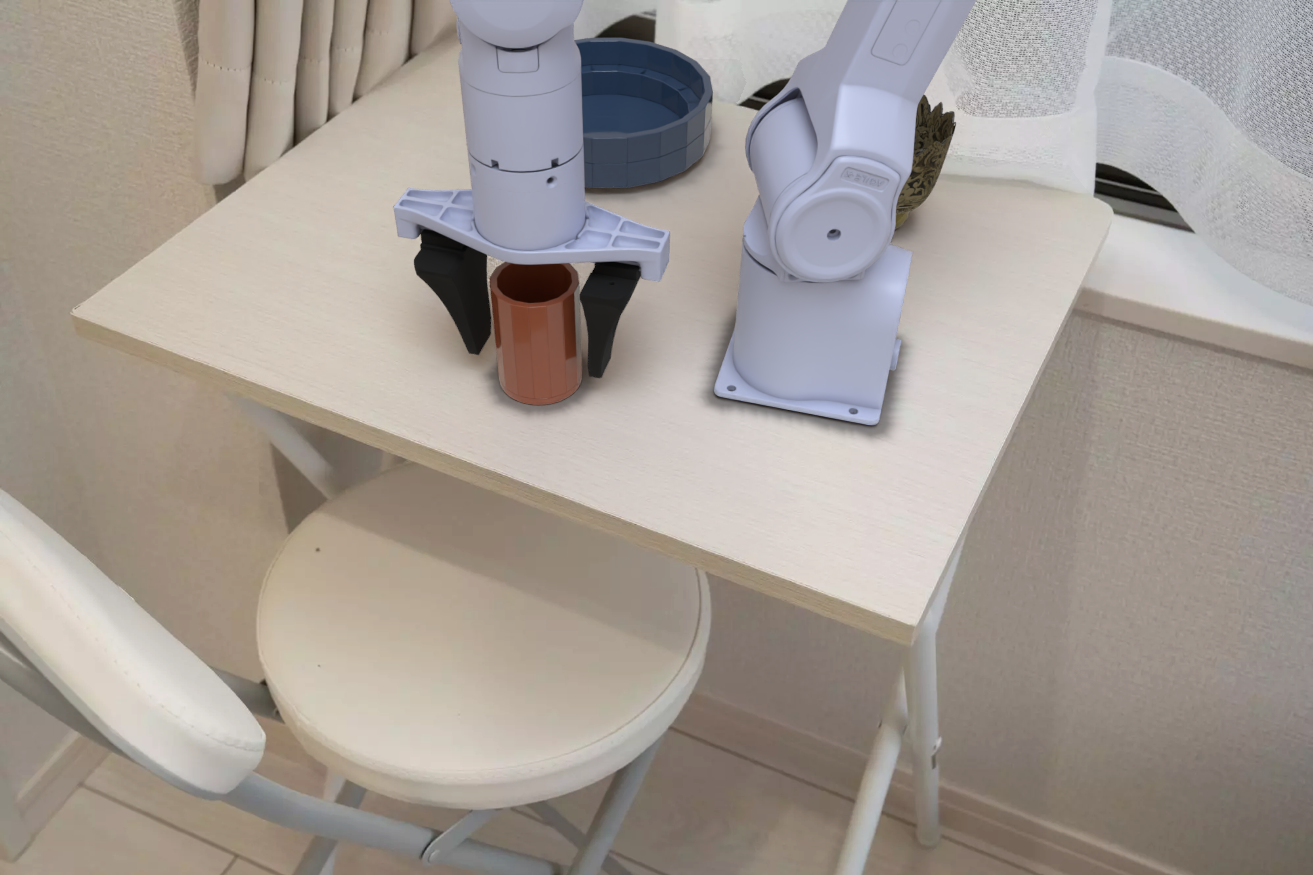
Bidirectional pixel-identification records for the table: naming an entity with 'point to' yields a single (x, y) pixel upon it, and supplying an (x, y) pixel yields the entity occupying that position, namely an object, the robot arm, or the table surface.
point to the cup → (537, 331)
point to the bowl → (641, 111)
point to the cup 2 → (925, 156)
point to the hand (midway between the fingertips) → (539, 355)
